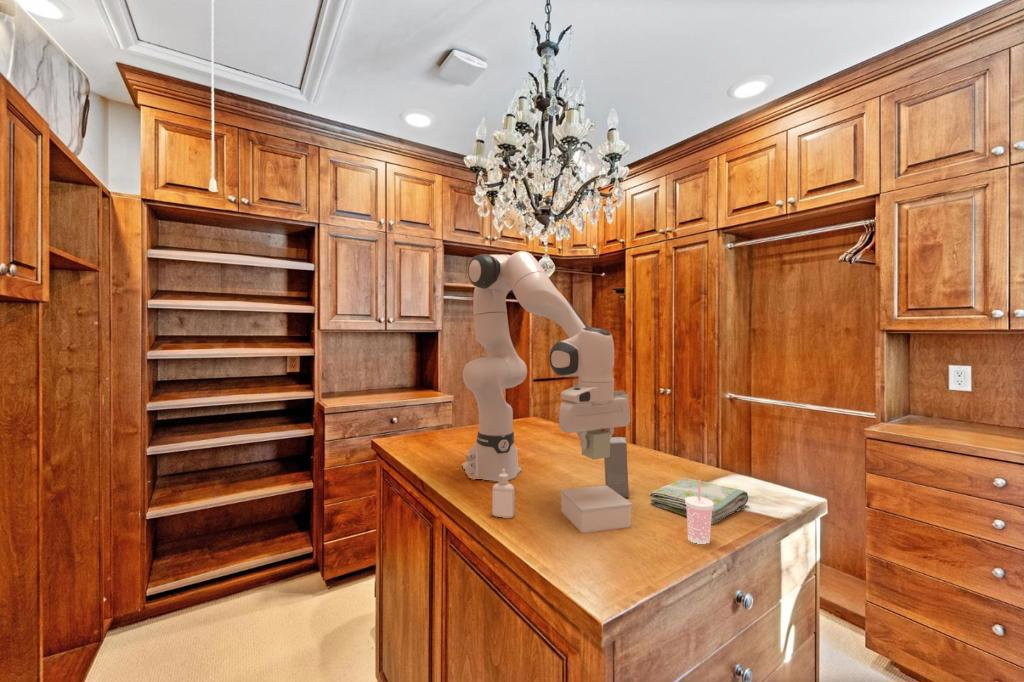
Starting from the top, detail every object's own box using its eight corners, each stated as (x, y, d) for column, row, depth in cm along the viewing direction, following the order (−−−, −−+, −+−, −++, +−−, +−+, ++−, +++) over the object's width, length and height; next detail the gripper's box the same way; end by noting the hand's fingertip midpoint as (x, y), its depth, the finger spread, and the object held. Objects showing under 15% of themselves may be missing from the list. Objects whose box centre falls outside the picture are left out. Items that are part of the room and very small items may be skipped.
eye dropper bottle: (506, 521, 112) (506, 474, 111) (489, 515, 115) (489, 469, 115) (517, 516, 115) (517, 469, 115) (500, 510, 119) (500, 465, 118)
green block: (581, 454, 114) (581, 431, 114) (597, 452, 117) (597, 429, 116) (593, 459, 110) (594, 435, 110) (609, 456, 112) (610, 433, 112)
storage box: (560, 512, 118) (560, 489, 118) (606, 507, 122) (606, 485, 122) (581, 534, 105) (581, 509, 105) (632, 528, 109) (632, 503, 109)
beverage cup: (678, 535, 105) (679, 476, 104) (701, 532, 106) (702, 474, 106) (695, 548, 99) (696, 485, 98) (719, 545, 100) (720, 483, 100)
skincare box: (629, 498, 127) (629, 443, 127) (603, 496, 129) (604, 441, 128) (627, 488, 136) (628, 436, 135) (603, 486, 137) (604, 435, 137)
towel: (646, 505, 123) (646, 487, 123) (688, 488, 137) (688, 472, 136) (710, 529, 109) (710, 508, 109) (750, 507, 122) (750, 489, 122)
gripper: (619, 388, 120) (619, 439, 121) (555, 392, 111) (555, 448, 111) (636, 391, 115) (635, 444, 115) (570, 396, 105) (569, 454, 106)
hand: (595, 446), depth 113 cm, fingers closed on green block, 5 cm apart
